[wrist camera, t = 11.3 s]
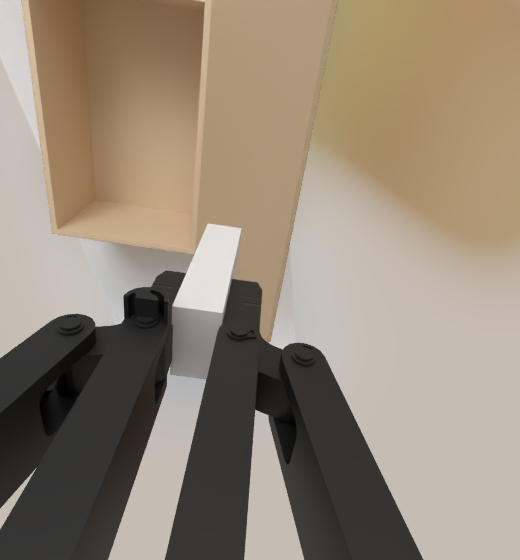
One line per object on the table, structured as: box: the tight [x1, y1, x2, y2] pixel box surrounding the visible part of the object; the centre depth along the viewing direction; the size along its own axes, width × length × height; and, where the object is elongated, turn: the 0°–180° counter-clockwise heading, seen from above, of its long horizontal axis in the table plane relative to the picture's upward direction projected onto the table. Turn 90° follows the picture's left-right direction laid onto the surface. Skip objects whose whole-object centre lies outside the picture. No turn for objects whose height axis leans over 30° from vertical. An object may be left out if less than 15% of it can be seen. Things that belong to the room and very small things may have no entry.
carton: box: [21, 0, 212, 255], centre depth 42 cm, size 24×16×11 cm, turn 172°
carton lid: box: [195, 0, 338, 342], centre depth 32 cm, size 24×16×1 cm
